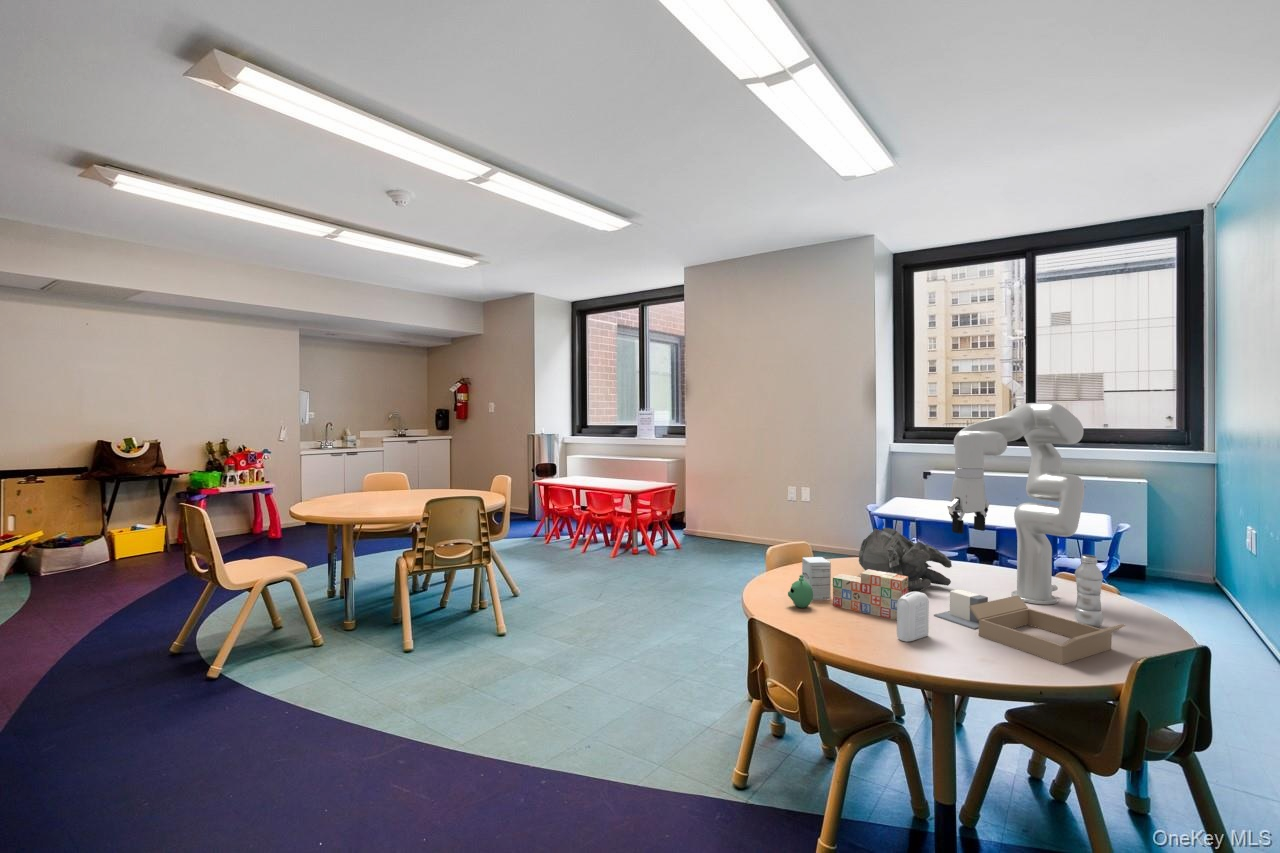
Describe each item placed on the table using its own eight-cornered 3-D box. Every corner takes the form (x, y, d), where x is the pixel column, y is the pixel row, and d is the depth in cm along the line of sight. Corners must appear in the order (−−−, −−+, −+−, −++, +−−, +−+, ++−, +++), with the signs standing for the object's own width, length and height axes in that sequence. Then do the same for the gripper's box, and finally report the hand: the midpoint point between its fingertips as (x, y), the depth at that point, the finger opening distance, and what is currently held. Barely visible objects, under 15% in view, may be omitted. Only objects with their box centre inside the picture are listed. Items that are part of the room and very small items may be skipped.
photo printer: (916, 631, 171) (916, 587, 171) (931, 635, 167) (931, 591, 167) (894, 638, 165) (894, 593, 165) (908, 643, 162) (909, 597, 161)
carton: (1016, 620, 180) (1016, 594, 179) (1124, 653, 155) (1125, 623, 155) (968, 632, 170) (968, 605, 170) (1075, 669, 145) (1075, 637, 145)
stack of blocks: (832, 606, 194) (832, 567, 193) (840, 601, 198) (840, 564, 198) (901, 621, 179) (901, 579, 179) (908, 616, 184) (908, 575, 184)
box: (959, 612, 186) (959, 589, 186) (987, 620, 178) (987, 597, 178) (949, 614, 184) (949, 591, 184) (977, 623, 176) (977, 599, 176)
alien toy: (788, 602, 197) (788, 572, 197) (813, 604, 195) (813, 573, 194) (787, 609, 190) (787, 577, 190) (812, 611, 188) (812, 579, 188)
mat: (962, 609, 190) (962, 608, 190) (1003, 622, 178) (1003, 620, 178) (933, 615, 184) (933, 614, 184) (973, 629, 172) (973, 628, 172)
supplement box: (801, 594, 206) (801, 557, 206) (822, 593, 207) (822, 556, 207) (809, 600, 199) (809, 562, 199) (831, 600, 200) (831, 561, 199)
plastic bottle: (1095, 630, 171) (1096, 560, 170) (1069, 623, 177) (1070, 555, 176) (1107, 627, 174) (1108, 557, 173) (1081, 619, 180) (1082, 552, 179)
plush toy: (958, 594, 206) (959, 536, 206) (881, 593, 206) (882, 536, 206) (922, 572, 233) (922, 521, 233) (854, 572, 234) (854, 521, 233)
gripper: (976, 471, 187) (976, 526, 187) (938, 474, 179) (937, 532, 180) (1000, 473, 180) (999, 531, 181) (961, 476, 173) (960, 536, 173)
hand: (968, 531), depth 180 cm, fingers open, 9 cm apart
